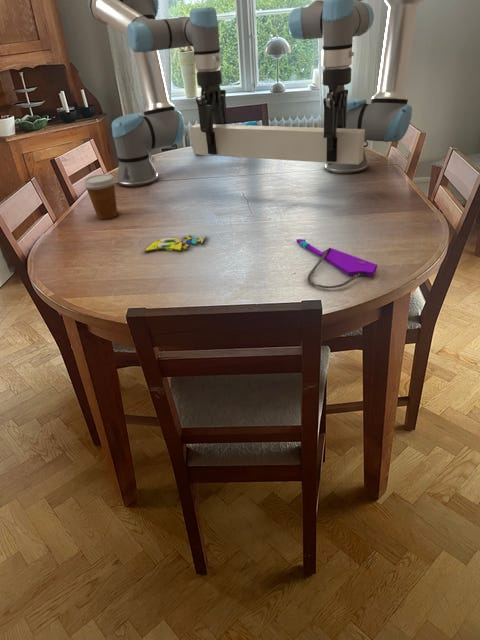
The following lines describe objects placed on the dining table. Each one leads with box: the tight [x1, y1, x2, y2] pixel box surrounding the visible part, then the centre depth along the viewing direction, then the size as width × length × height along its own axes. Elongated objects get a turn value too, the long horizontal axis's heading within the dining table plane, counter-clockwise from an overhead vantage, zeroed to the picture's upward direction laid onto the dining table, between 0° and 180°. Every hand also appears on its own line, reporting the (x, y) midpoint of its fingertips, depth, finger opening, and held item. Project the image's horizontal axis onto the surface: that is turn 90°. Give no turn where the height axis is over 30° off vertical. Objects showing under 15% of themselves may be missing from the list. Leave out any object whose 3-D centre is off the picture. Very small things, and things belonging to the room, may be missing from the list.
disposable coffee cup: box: [83, 173, 118, 220], centre depth 151 cm, size 10×10×12 cm
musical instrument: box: [295, 238, 378, 289], centre depth 112 cm, size 24×2×20 cm
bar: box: [189, 123, 365, 165], centre depth 143 cm, size 54×4×8 cm, turn 62°
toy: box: [144, 234, 207, 254], centre depth 130 cm, size 10×1×15 cm
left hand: (216, 151), depth 153 cm, fingers closed on bar, 5 cm apart
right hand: (334, 158), depth 137 cm, fingers closed on bar, 4 cm apart
